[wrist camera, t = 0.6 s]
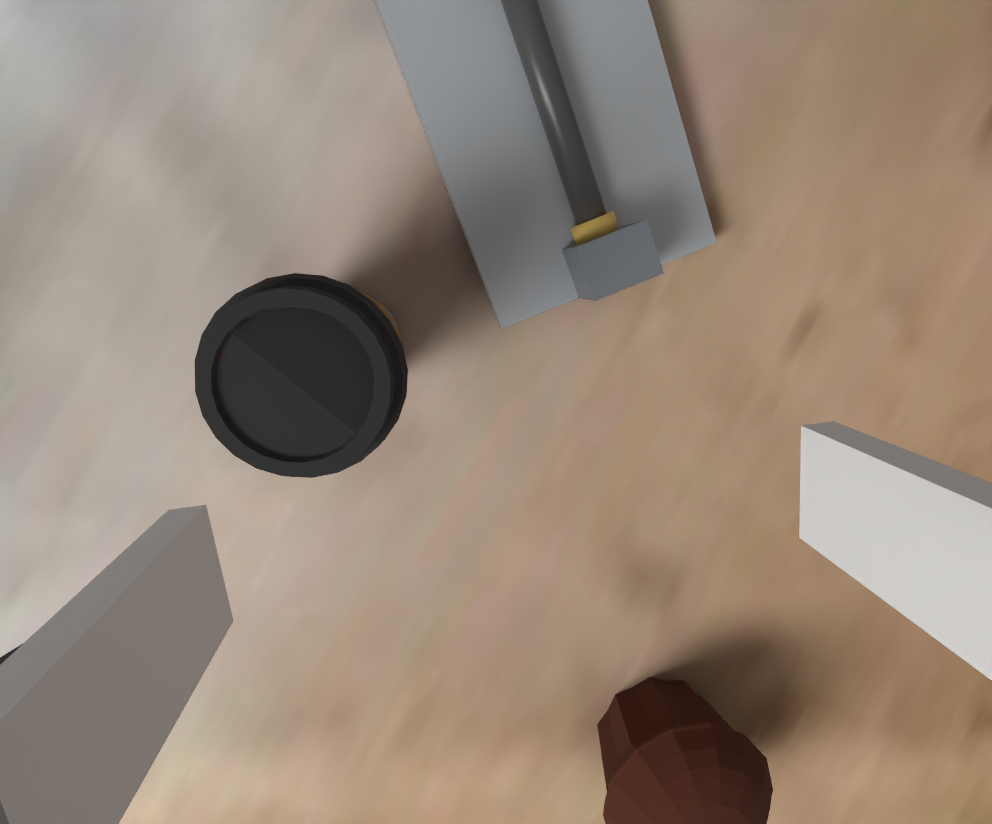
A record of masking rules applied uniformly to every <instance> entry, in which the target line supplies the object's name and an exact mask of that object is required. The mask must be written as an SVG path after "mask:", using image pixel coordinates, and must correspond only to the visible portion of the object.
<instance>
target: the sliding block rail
mask: <svg viewBox="0 0 992 824" xmlns="http://www.w3.org/2000/svg"><path fill="white" fill-rule="evenodd" d="M374 1H375V4H376V6H377V9H378V12H379V14H380V17H381V19H382V22H383V25H384V27H385V30H386V32H387V35H388V38H389V40H390V43H391V45H392V48H393V51H394V53H395V56H396V58H397V61H398V64H399V66H400V69H401V71H402V74H403V77H404V79H405V82H406V84H407V87H408V90H409V92H410V95H411V97H412V100H413V103H414V105H415V108H416V110H417V113H418V116H419V118H420V121H421V124H422V126H423V129H424V131H425V134H426V137H427V139H428V142H429V144H430V147H431V150H432V152H433V155H434V157H435V160H436V163H437V165H438V168H439V170H440V173H441V176H442V178H443V181H444V183H445V186H446V189H447V191H448V194H449V196H450V199H451V202H452V204H453V207H454V209H455V212H456V215H457V217H458V220H459V222H460V225H461V228H462V230H463V233H464V236H465V238H466V241H467V243H468V246H469V249H470V251H471V254H472V256H473V259H474V262H475V264H476V267H477V269H478V272H479V275H480V277H481V280H482V282H483V285H484V288H485V290H486V293H487V295H488V298H489V301H490V303H491V306H492V308H493V311H494V314H495V316H496V319H497V321H498V324H499V327H501V328H505V327H507V326H510V325H512V324H515V323H517V322H520V321H522V320H525V319H527V318H530V317H532V316H535V315H537V314H540V313H542V312H545V311H547V310H550V309H552V308H555V307H557V306H560V305H562V304H565V303H567V302H570V301H572V300H575V299H577V298H582V299H588V300H594V301H596V300H598V299H601V298H603V297H606V296H608V295H611V294H613V293H616V292H618V291H621V290H623V289H626V288H628V287H631V286H633V285H636V284H638V283H641V282H643V281H646V280H648V279H651V278H653V277H656V276H658V275H661V274H663V273H664V272H663V269H662V266H661V265H662V264H665V263H667V262H670V261H672V260H675V259H677V258H680V257H682V256H685V255H687V254H690V253H692V252H695V251H697V250H700V249H702V248H705V247H707V246H710V245H712V244H715V243H717V242H716V238H715V235H714V231H713V228H712V224H711V221H710V217H709V214H708V210H707V207H706V203H705V200H704V196H703V193H702V189H701V186H700V182H699V179H698V175H697V172H696V168H695V165H694V161H693V157H692V154H691V150H690V147H689V143H688V140H687V136H686V133H685V129H684V126H683V122H682V119H681V115H680V112H679V108H678V105H677V101H676V98H675V94H674V91H673V87H672V84H671V80H670V76H669V73H668V69H667V66H666V62H665V59H664V55H663V52H662V48H661V45H660V41H659V38H658V34H657V31H656V27H655V24H654V20H653V17H652V13H651V10H650V6H649V3H648V0H374Z"/></svg>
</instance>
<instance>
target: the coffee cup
mask: <svg viewBox="0 0 992 824" xmlns="http://www.w3.org/2000/svg"><path fill="white" fill-rule="evenodd" d="M407 375H408V369H407V364H406V360H405V355H404V350H403V345H402V340H401V336H400V331H399V329H398V326H397V324H396V322H395V320H394V318H393V316H392V315H391V313H390V312H389V311H388V310H387V309H386V308H385V307H384V306H383V304H381V303H380V302H378V301H377V300H375V299H374V298H372V297H371V296H369V295H368V294H366V293H363V292H360V291H357V290H356V289H354V288H353V287H351V286H350V285H347V284H345V283H342V282H339V281H336V280H333V279H330V278H328V277H325V276H320V275H308V274H296V273H294V274H288V275H283V276H277V277H272V278H267V279H265V280H263V281H261V282H259V283H257V284H255V285H253V286H251V287H249V288H246V289H244V290H243V291H241V292H239V293H237V294H235V295H234V296H233V297H232V298H231V299H230V300H229V301H227V302H226V303H225V304H224V305H223V306H222V307H221V308H220V309H219V310H217V311H216V312H215V314H214V316H213V317H212V319H211V321H210V322H209V324H208V326H207V327H206V329H205V330H204V332H203V334H202V336H201V340H200V343H199V347H198V351H197V355H196V358H195V392H196V395H197V399H198V402H199V405H200V409H201V412H202V415H203V417H204V419H205V421H206V422H207V424H208V426H209V427H210V429H211V430H212V432H213V434H214V435H215V437H216V438H217V439H218V440H219V441H220V442H221V443H222V444H223V445H224V446H225V447H226V448H227V449H228V450H229V451H230V452H231V453H232V454H233V455H234V456H236V457H238V458H240V459H241V460H243V461H245V462H246V463H248V464H250V465H252V466H253V467H255V468H257V469H260V470H264V471H267V472H270V473H274V474H277V475H281V476H290V477H310V478H313V477H318V476H323V475H328V474H333V473H338V472H340V471H342V470H344V469H346V468H348V467H350V466H352V465H354V464H356V463H358V462H361V461H362V460H363V459H364V458H365V457H366V456H368V455H369V454H370V453H371V452H372V451H373V450H375V449H376V448H377V447H378V446H379V445H380V444H381V443H382V442H383V441H384V440H385V438H386V437H387V435H388V434H389V432H390V431H391V429H392V428H393V427H394V425H395V424H396V422H397V421H398V419H399V416H400V413H401V410H402V407H403V404H404V401H405V398H406V393H407Z"/></svg>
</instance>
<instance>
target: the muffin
mask: <svg viewBox="0 0 992 824" xmlns="http://www.w3.org/2000/svg"><path fill="white" fill-rule="evenodd" d="M597 725H598V732H599V739H600V745H601V753H602V761H603V768H604V775H605V781H606V788H607V795H606V799H605V804H604V812H603V816H604V820H605V823H606V824H766V823H767V819H768V815H769V810H770V804H771V796H772V792H773V788H772V783H771V778H770V773H769V768H768V763H767V758H766V757H765V756H764V755H763V754H762V753H761V752H760V751H759V750H758V749H757V748H756V747H755V746H754V744H753V743H752V742H751V741H750V740H749V739H748V738H747V737H746V736H745V735H744V734H742V733H739V732H737V731H734V730H733V729H732V728H731V727H730V726H729V725H728V724H727V723H726V722H725V720H724V719H723V718H722V717H721V716H720V715H719V714H718V713H717V712H716V711H715V710H714V709H713V708H712V707H711V705H710V704H709V703H708V702H707V701H705V700H704V699H703V698H701V697H700V696H698V695H697V694H696V693H694V692H693V690H692V689H691V688H690V687H689V686H688V685H687V684H686V682H685V681H665V680H659V679H653V678H647V679H646V680H644V681H642V682H641V683H639V684H637V685H636V686H634V687H633V688H630V689H628V690H625V691H623V692H620V693H618V694H615V696H614V698H613V700H612V702H611V705H610V707H609V709H608V711H607V712H606V713H605V715H604V716H603V717H602V719H601V720H600V721H599V723H598V724H597Z"/></svg>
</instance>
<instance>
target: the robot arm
mask: <svg viewBox="0 0 992 824" xmlns="http://www.w3.org/2000/svg"><path fill="white" fill-rule="evenodd" d="M799 538H801V539H802V540H803V541H805V542H806V543H807V544H809V545H810V546H811V547H813V548H814V549H816V550H817V551H818V552H820V553H821V554H822V555H824V556H825V557H826V558H828V559H829V560H830V561H832V562H833V563H834V564H836V565H837V566H838V567H840V568H841V569H842V570H844V571H845V572H846V573H848V574H849V575H851V576H852V577H853V578H855V579H856V580H857V581H859V582H860V583H861V584H863V585H864V586H865V587H867V588H868V589H869V590H871V591H872V592H873V593H875V594H876V595H877V596H879V597H880V598H881V599H883V600H884V601H886V602H887V603H888V604H890V605H891V606H892V607H894V608H895V609H896V610H898V611H899V612H900V613H902V614H903V615H904V616H906V617H907V618H908V619H910V620H911V621H912V622H914V623H915V624H916V625H918V626H919V627H921V628H922V629H923V630H925V631H926V632H927V633H929V634H930V635H931V636H933V637H934V638H935V639H937V640H938V641H939V642H941V643H942V644H943V645H945V646H946V647H947V648H949V649H950V650H951V651H953V652H954V653H955V654H957V655H958V656H960V657H961V658H962V659H964V660H965V661H966V662H968V663H969V664H970V665H972V666H973V667H974V668H976V669H977V670H978V671H980V672H981V673H982V674H984V675H985V676H986V677H988V678H989V679H990V680H992V483H991V482H988V481H985V480H983V479H980V478H978V477H975V476H973V475H970V474H967V473H965V472H962V471H960V470H957V469H955V468H952V467H949V466H947V465H944V464H942V463H939V462H937V461H934V460H931V459H929V458H926V457H924V456H921V455H919V454H916V453H913V452H911V451H908V450H906V449H903V448H901V447H898V446H895V445H893V444H890V443H888V442H885V441H883V440H880V439H877V438H875V437H872V436H870V435H867V434H865V433H862V432H859V431H857V430H854V429H852V428H849V427H847V426H844V425H841V424H839V423H836V422H834V421H833V422H825V423H818V424H810V425H803V426H801V473H800V537H799ZM232 622H233V617H232V613H231V608H230V604H229V600H228V596H227V592H226V587H225V583H224V579H223V575H222V570H221V566H220V562H219V558H218V554H217V549H216V545H215V541H214V537H213V532H212V528H211V524H210V520H209V515H208V511H207V507H206V505H202V506H195V507H187V508H180V509H172V510H168V511H167V512H166V513H165V514H164V515H163V516H162V517H161V518H159V519H158V520H157V521H156V522H155V523H154V524H153V525H152V526H151V527H150V528H149V529H147V530H146V531H145V532H144V533H143V534H142V535H141V536H140V537H139V538H138V539H137V540H136V541H134V542H133V543H132V544H131V545H130V546H129V547H128V548H127V549H126V550H125V551H124V552H122V553H121V554H120V555H119V556H118V557H117V558H116V559H115V560H114V561H113V562H112V563H111V564H109V565H108V566H107V567H106V568H105V569H104V570H103V571H102V572H101V573H100V574H99V575H97V576H96V577H95V578H94V579H93V580H92V581H91V582H90V583H89V584H88V585H87V586H86V587H84V588H83V589H82V590H81V591H80V592H79V593H78V594H77V595H76V596H75V597H74V598H72V599H71V600H70V601H69V602H68V603H67V604H66V605H65V606H64V607H63V608H62V609H61V610H59V611H58V612H57V613H56V614H55V615H54V616H53V617H52V618H51V619H50V620H49V621H47V622H46V623H45V624H44V625H43V626H42V627H41V628H40V629H39V630H38V631H37V632H36V633H34V634H33V635H32V636H31V637H30V638H29V639H28V640H27V641H26V642H25V643H24V644H22V645H20V646H18V647H17V648H15V649H13V650H12V651H10V652H9V653H7V654H5V655H4V656H2V657H0V824H119V822H120V820H121V819H122V817H123V815H124V813H125V811H126V810H127V808H128V806H129V804H130V803H131V801H132V799H133V797H134V796H135V794H136V792H137V790H138V788H139V787H140V785H141V783H142V781H143V780H144V778H145V776H146V774H147V773H148V771H149V769H150V767H151V765H152V764H153V762H154V760H155V758H156V757H157V755H158V753H159V751H160V750H161V748H162V746H163V744H164V742H165V741H166V739H167V737H168V735H169V734H170V732H171V730H172V728H173V727H174V725H175V723H176V721H177V719H178V718H179V716H180V714H181V712H182V711H183V709H184V707H185V705H186V704H187V702H188V700H189V698H190V696H191V695H192V693H193V691H194V689H195V688H196V686H197V684H198V682H199V681H200V679H201V677H202V675H203V673H204V672H205V670H206V668H207V666H208V665H209V663H210V661H211V659H212V658H213V656H214V654H215V652H216V651H217V649H218V647H219V645H220V643H221V642H222V640H223V638H224V636H225V635H226V633H227V631H228V629H229V628H230V626H231V624H232Z"/></svg>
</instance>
